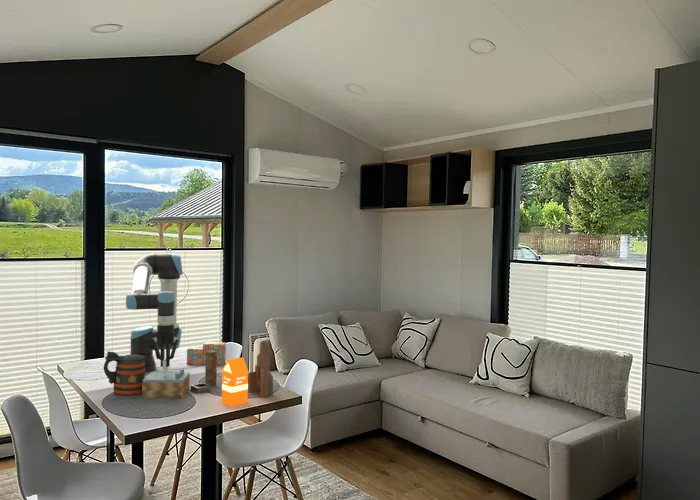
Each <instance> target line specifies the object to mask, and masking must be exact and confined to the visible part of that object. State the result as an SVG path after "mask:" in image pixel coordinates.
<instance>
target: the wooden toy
mask: <svg viewBox="0 0 700 500" xmlns="http://www.w3.org/2000/svg"><path fill="white" fill-rule="evenodd" d="M270 356H273V353H272V352H271V350H270V347H269V345H268V343H267V341H266V340H262V341H260V352H259V353H258V354H257V356H256V364H255V365H254V371H252V372H248V393H253V392H254V393H255V392H258V391H260V398H261V399H262V398H263V399H266V398H268V397H270V396H273V394H274V391H273V390H274V375H273V374H272V373H271V370H270Z"/></svg>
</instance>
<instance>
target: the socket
mask: <svg viewBox="0 0 700 500" xmlns="http://www.w3.org/2000/svg"><path fill="white" fill-rule="evenodd" d="M189 390H190V391H191V392H192V393H193V392H194V393H196V394H202V393H203V394H204V393H208V392H212V386H211V385H208V384H206V383H205V382H200V383H196V384H189Z"/></svg>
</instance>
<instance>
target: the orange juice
mask: <svg viewBox="0 0 700 500" xmlns="http://www.w3.org/2000/svg"><path fill="white" fill-rule="evenodd" d="M248 374H249V370H248V368H247V364H246V361H245V359H244V357H237V358H233V359H227V361H225V363H224V365H223V368H222V375H221V376H222V377H221V378H222V379H221V403H222V404H224V405H227V406H230V407H234V406H238V405H243V404H246V403H248V398H249V397H248V395H249V394H248V393H249V392H248Z"/></svg>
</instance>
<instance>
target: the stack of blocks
mask: <svg viewBox="0 0 700 500" xmlns="http://www.w3.org/2000/svg"><path fill="white" fill-rule="evenodd" d="M212 350H214V351H216V352H217V366H225V364H226V351H227V350H226V342H225V341H224V342H220V341H214V342H213V341H205V342H204V343H203V344H202V347H201V346H189V347H188V348H187V349H186V365H187V366H188V365H189V366H190V365H192V366H193V365H195V366H197V365H198V366H201V365H202V366H206V351H212Z"/></svg>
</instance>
